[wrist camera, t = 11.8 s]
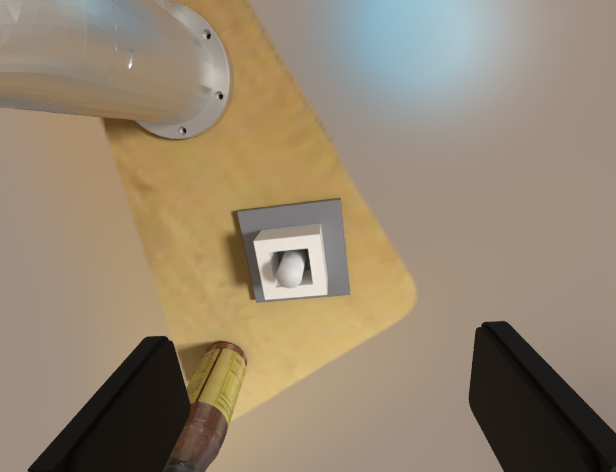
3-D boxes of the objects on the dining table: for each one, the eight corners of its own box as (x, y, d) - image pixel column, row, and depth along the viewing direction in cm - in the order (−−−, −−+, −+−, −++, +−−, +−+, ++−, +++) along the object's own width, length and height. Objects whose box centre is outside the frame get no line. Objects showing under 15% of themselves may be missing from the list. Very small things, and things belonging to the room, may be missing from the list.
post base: (239, 209, 35) (218, 226, 29) (340, 198, 34) (342, 212, 27) (258, 298, 39) (243, 331, 32) (349, 290, 38) (354, 323, 31)
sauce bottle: (207, 373, 43) (114, 552, 25) (204, 337, 42) (101, 502, 23) (251, 377, 43) (191, 562, 24) (251, 341, 41) (184, 512, 22)
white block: (261, 230, 35) (253, 241, 31) (320, 223, 34) (319, 234, 30) (271, 283, 37) (265, 299, 33) (327, 278, 36) (327, 294, 32)
